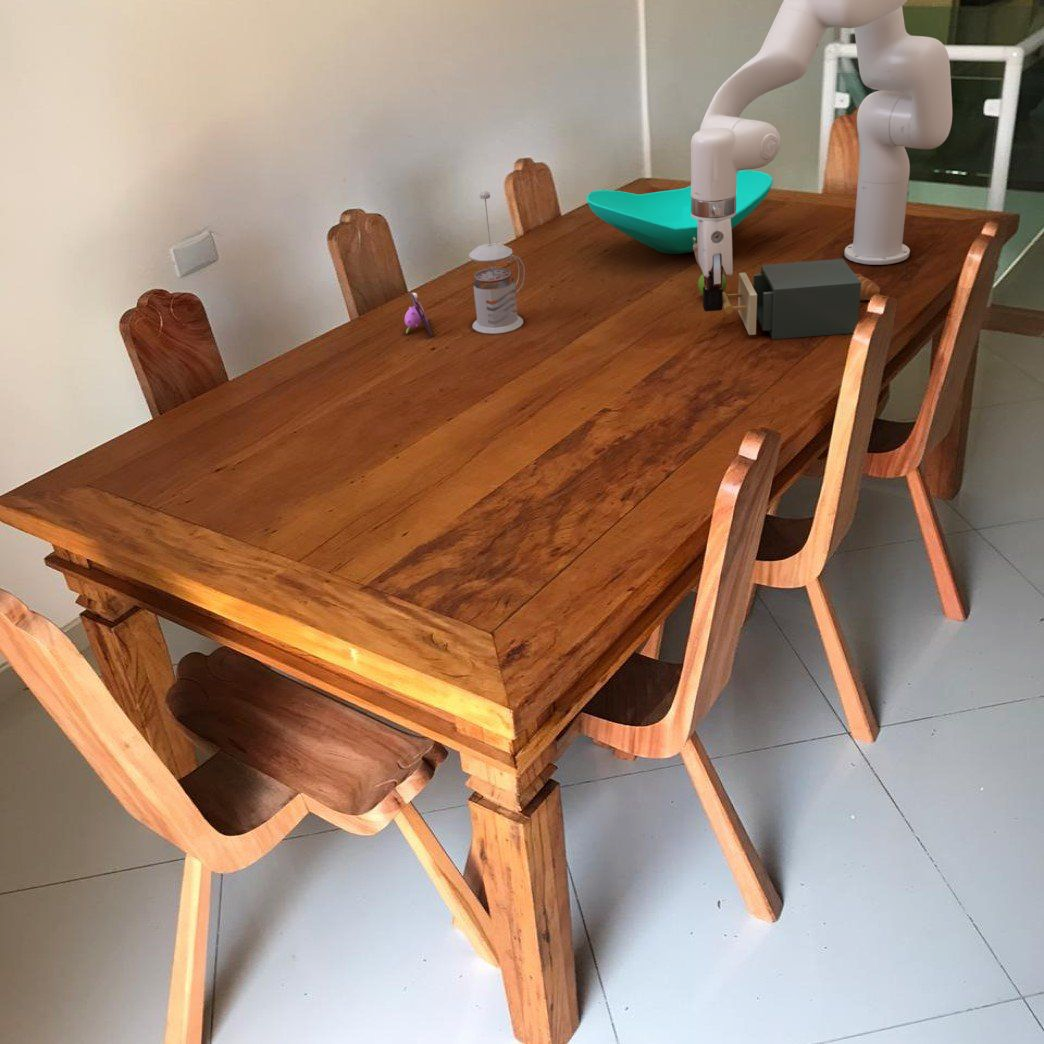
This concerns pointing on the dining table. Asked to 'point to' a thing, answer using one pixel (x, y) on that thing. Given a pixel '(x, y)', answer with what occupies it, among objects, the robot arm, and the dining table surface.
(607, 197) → the table top decor
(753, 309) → the drawer
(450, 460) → the dining table surface
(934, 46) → the robot arm
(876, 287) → the pastry
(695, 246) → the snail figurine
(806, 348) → the dining table surface
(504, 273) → the french press
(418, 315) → the purple plush toy
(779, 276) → the cabinet
